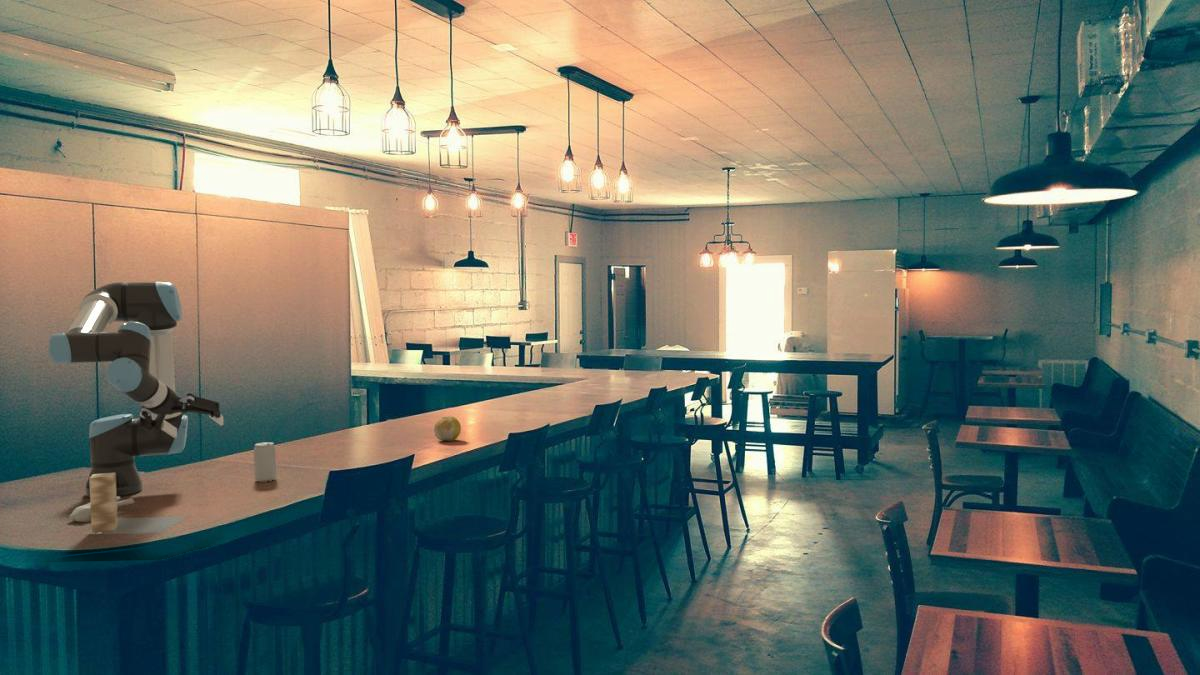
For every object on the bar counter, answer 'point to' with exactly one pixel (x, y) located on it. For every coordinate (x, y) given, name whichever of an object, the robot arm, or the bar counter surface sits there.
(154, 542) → the bar counter surface
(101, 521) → the maple block
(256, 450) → the beverage can
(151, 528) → the rubber mat
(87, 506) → the bunny figurine
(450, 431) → the fruit
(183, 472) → the bar counter surface
